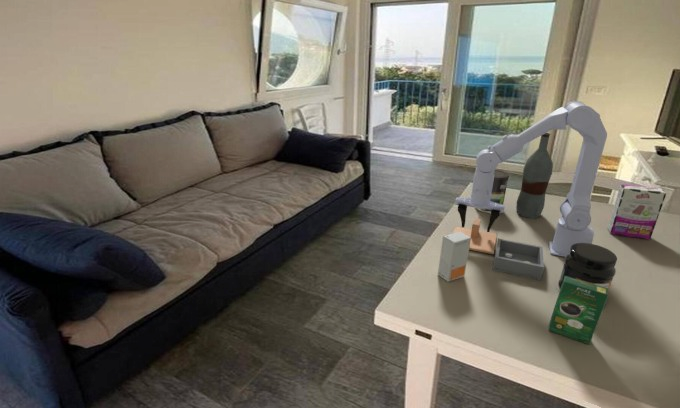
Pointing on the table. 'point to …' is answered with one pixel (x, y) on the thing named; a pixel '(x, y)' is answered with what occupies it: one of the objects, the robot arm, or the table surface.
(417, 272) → the table surface
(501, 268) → the tub
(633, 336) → the table surface
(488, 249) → the lid
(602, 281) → the supplement container
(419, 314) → the table surface
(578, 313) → the coffee box
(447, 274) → the skincare box
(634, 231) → the candy bar box
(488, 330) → the table surface
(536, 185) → the bottle
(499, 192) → the coffee can
